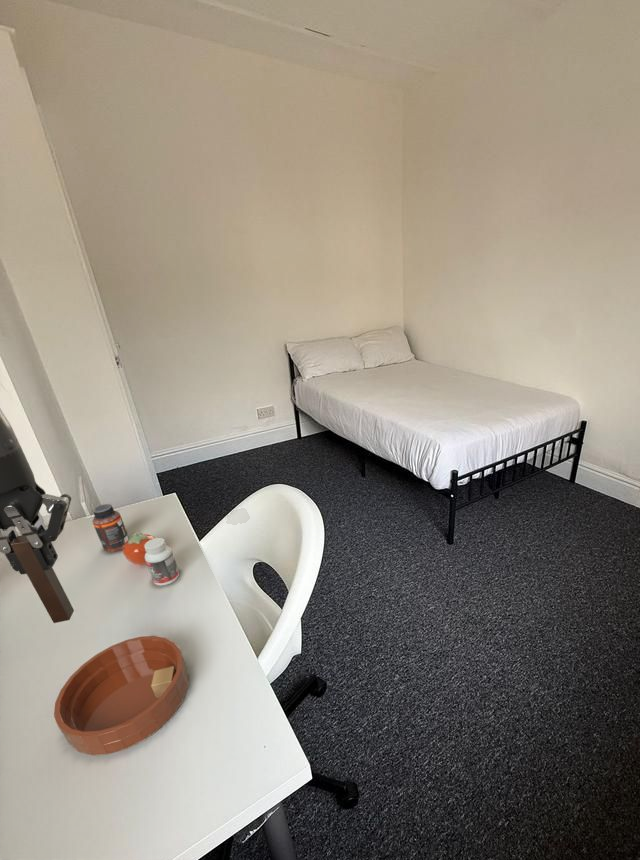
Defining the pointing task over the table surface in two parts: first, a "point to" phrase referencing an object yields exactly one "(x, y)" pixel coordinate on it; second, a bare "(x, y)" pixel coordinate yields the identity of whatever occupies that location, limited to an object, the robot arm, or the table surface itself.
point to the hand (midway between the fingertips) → (38, 567)
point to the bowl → (120, 696)
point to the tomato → (136, 548)
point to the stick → (43, 581)
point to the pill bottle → (160, 562)
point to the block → (162, 680)
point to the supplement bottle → (109, 528)
